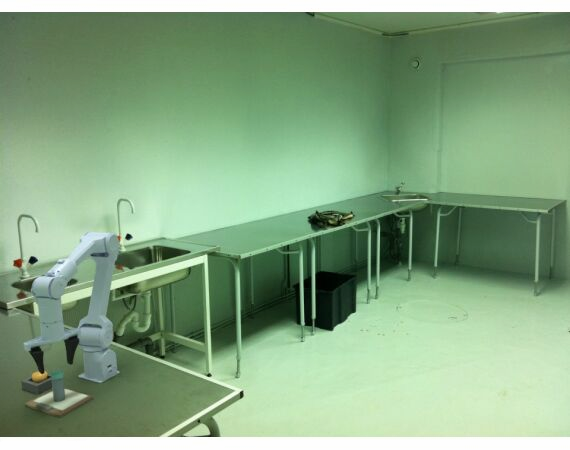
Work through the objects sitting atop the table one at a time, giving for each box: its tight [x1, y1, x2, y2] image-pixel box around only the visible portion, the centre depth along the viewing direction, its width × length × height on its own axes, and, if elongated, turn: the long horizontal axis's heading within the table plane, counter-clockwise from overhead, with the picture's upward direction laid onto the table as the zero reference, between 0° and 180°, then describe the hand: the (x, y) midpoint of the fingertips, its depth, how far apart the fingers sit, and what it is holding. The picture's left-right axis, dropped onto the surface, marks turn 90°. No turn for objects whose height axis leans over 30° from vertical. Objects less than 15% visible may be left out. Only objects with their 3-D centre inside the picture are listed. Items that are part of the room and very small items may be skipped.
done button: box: [31, 370, 48, 383], centre depth 152 cm, size 4×4×2 cm
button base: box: [20, 372, 52, 395], centre depth 152 cm, size 7×7×2 cm
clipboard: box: [24, 387, 94, 418], centre depth 143 cm, size 14×11×1 cm
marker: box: [50, 368, 65, 402], centre depth 142 cm, size 3×3×8 cm
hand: (56, 368), depth 141 cm, fingers open, 7 cm apart
